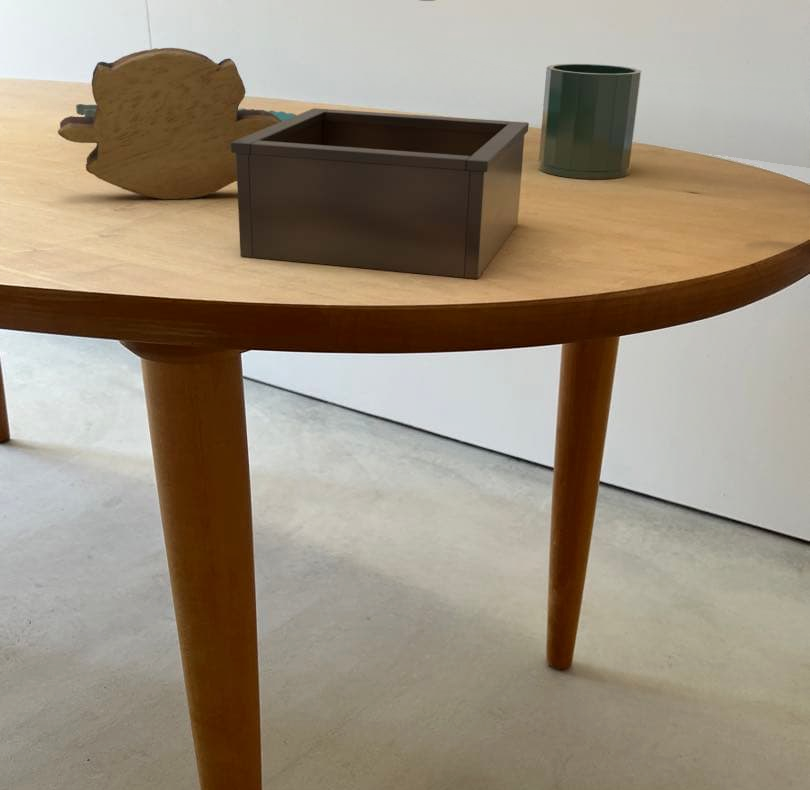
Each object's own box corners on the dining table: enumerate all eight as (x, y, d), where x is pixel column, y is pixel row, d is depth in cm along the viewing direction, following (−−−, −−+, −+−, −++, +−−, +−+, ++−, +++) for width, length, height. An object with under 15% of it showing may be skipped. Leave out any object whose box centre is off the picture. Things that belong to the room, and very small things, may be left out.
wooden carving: (284, 185, 85) (280, 44, 81) (299, 198, 82) (296, 50, 77) (63, 194, 81) (45, 44, 76) (67, 208, 77) (49, 51, 72)
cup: (631, 165, 97) (644, 66, 93) (625, 182, 90) (637, 76, 87) (545, 159, 98) (553, 61, 95) (532, 175, 92) (541, 70, 88)
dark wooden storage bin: (521, 223, 76) (528, 122, 73) (480, 280, 64) (487, 161, 61) (314, 205, 80) (312, 108, 76) (235, 256, 67) (230, 142, 64)
